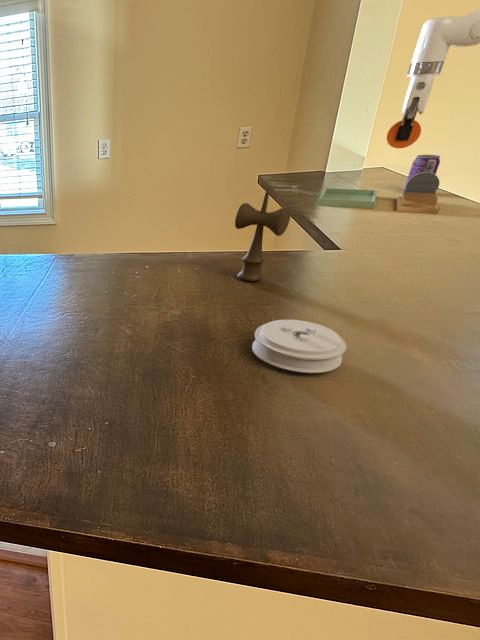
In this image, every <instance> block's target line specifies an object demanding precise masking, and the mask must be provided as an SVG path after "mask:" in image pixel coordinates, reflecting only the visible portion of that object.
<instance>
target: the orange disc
mask: <svg viewBox="0 0 480 640" xmlns="http://www.w3.org/2000/svg"><path fill="white" fill-rule="evenodd" d="M402 121H403V120H402V119H401V120H399V121H397V122H395V123H394V124H393V125H391V127H390V128H389V129H388V131H387V133H386V142H387V144H388V145H389V146H390V147H391V148H394V149H405V148H408V147H410V146H412V145H413V144H415V143H416V142H417V141H418V139H419V138H420V136H421V134H422V126H421V125H420V123H419V122H418V121H417V120H414V122H413V125H412V126H413V128H412V131H411V134H410V137H409V139H408V140H407V141H397V140H395V139H396V136H397V133H398V129H399V126H401V124H402Z"/></svg>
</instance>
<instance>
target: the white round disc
mask: <svg viewBox="0 0 480 640" xmlns="http://www.w3.org/2000/svg"><path fill="white" fill-rule="evenodd" d="M254 338H255V340H254V341H253V342H252V345H251V350H252V352H253V353H254V355H255V356H256V357H257V358H259V359H260V360H262V362H263V361H264V362H265V363H267V364H269V365H271V366H274V367H275V368H280V369H283V370H286V371H291V372H296V373H303V374H304V373H305V374H321V373H327V372H331V371H334V370H336V369H338V368H339V367H340V366H341V365H342V363H343V358H342V356H343V355H344V354H345V352H346V350H347V342H346V341H345V339H343V338H342V337H341V336H340V335H339V334H338V333H337V332H336V331H334V330H333V329H331V328H329V327H327V326H325V325H322V324H317V323H315V322H311V321H306V320H299V319H277V320H272V321H269V322H267V323H265V324H264V323H263V324H262V325H260V326H258V327H257V328H256V329H255V331H254Z"/></svg>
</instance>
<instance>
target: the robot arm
mask: <svg viewBox="0 0 480 640" xmlns="http://www.w3.org/2000/svg"><path fill="white" fill-rule="evenodd" d="M479 44H480V7H478V8H477V9H475V10H473V11H471V12H469V13H467V14H465V15H462V16H440V17H433V18H429V19H427V20H426V21H424V23H423V24H422V26H421V30H420V33H419V36H418V39H417V42H416V46H415V49H414V52H413V55H412V59H411V60H410V64H409V66H408V70H407V73H406V77H410V80H409V83H408V88H407V90H406V93H405V96H404V100H403V104H402V109H401V113H402V115H403V116H402V119H401V120H403V121H402V124H401V126H399V129H398V133H397V136H396V139H395V140H397V141H407V140H408V139H409V137H410V134H411V131H412V128H413V126H412V125H413V122H414V120H415V119H416V117H417V115H418V114H419V115H423V114H424V112H425V108H426V105H427V103H428V100H429V97H430V93H431V91H432V87H433V84H434V80H435V76H440V75H441V72H442V69H443V67H444V64H445V61H446V58H447V55H448V52H449V49H450V47H453V48H463V47H465V48H467V47H474V46H476V45H479ZM415 121H416V120H415Z"/></svg>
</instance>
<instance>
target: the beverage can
mask: <svg viewBox="0 0 480 640" xmlns="http://www.w3.org/2000/svg"><path fill="white" fill-rule="evenodd" d="M440 158H441V155H438V154H419V155H416V158H414V160H413V161H412V164H411V166H410V169H409V171H408V175H407V177H406V181H405V184H404V187H403V192H404V191H406V184H407V182H408V181H409V179H410V178H411V177H413V176H414V175H416V174H418V173H422V172H431V173H434V174H435V175H436V176H437V172H438V169H439V166H440V163H441V160H440Z"/></svg>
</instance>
